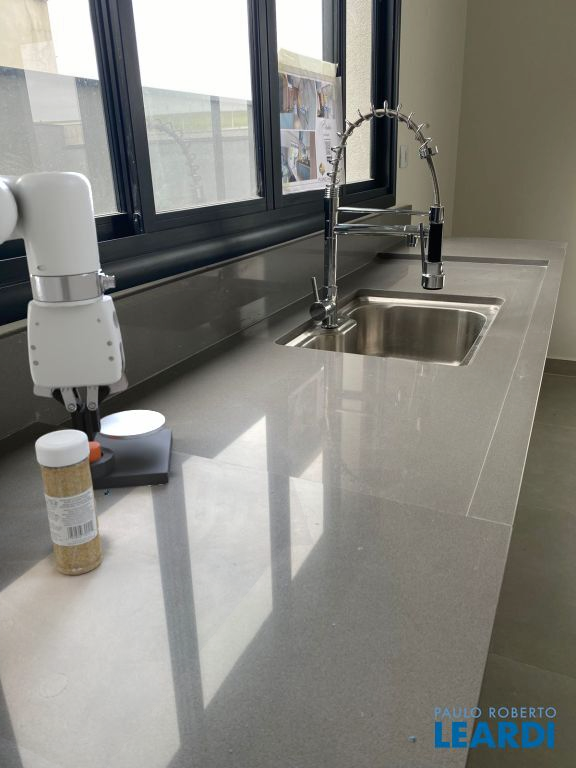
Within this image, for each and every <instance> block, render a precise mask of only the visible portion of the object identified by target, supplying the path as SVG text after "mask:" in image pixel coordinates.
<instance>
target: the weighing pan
mask: <svg viewBox="0 0 576 768" xmlns="http://www.w3.org/2000/svg"><path fill="white" fill-rule="evenodd" d="M100 422H101V431H100V432H97V434H99V435H100V436H102V437H105V438H109V439H116V440H127V439H136V438H141V437H145V436H149V435H152V434H154V433H156V432H158V431H160V430H163V429H164V427H165V425H166V418H165V416H164V415H163V414H162V413H160V412H157V411H152V410H145V409H144V410H143V409H135V410H133V409H132V410H124V411H120V412H116V413H112V414H109V415H106V416H104V417H102V418H100Z"/></svg>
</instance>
